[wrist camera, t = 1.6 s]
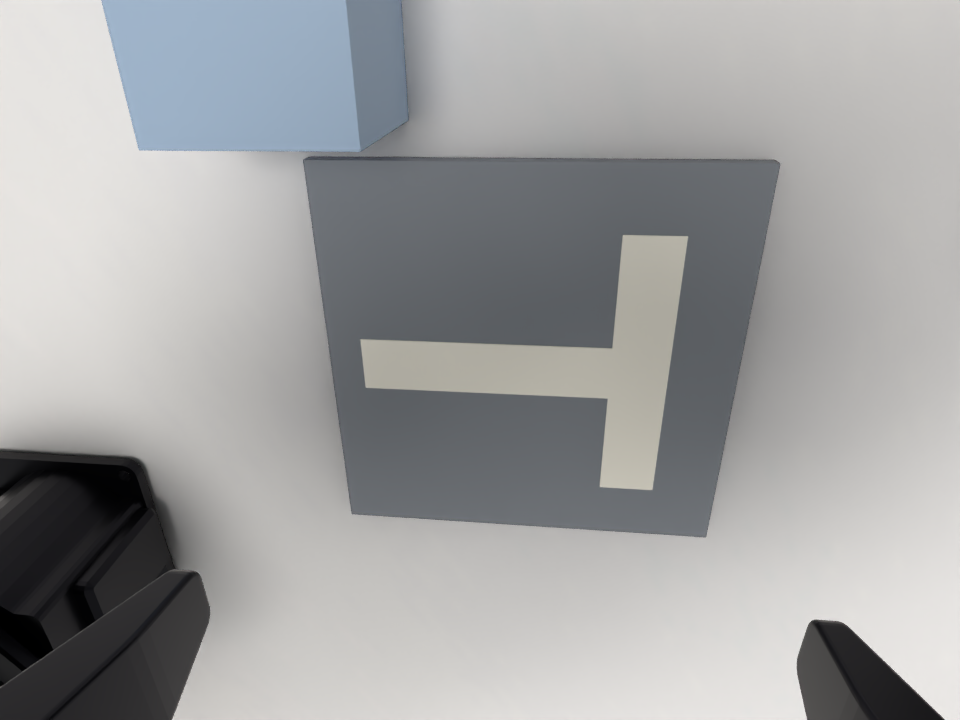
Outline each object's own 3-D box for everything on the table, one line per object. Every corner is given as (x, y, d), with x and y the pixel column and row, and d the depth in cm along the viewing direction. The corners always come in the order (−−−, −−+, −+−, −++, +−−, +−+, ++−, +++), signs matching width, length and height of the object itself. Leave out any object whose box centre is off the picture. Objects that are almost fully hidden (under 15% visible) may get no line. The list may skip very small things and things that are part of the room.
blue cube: (238, 119, 19) (138, 150, 14) (201, -90, 16) (68, -132, 12) (409, 119, 18) (360, 151, 14) (396, -98, 16) (332, -144, 11)
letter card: (355, 505, 25) (351, 514, 24) (309, 156, 19) (302, 160, 18) (703, 527, 23) (706, 538, 23) (774, 159, 17) (780, 163, 17)
